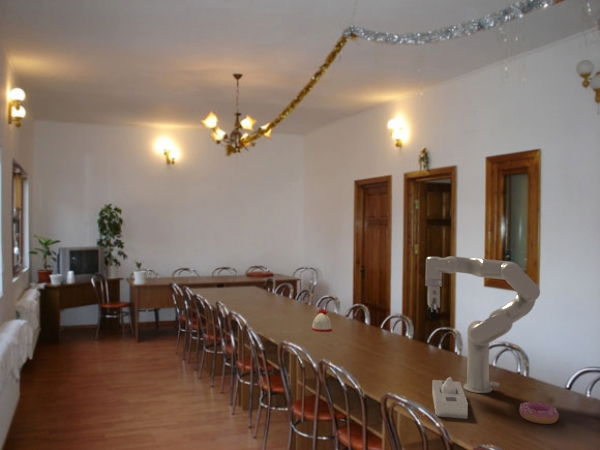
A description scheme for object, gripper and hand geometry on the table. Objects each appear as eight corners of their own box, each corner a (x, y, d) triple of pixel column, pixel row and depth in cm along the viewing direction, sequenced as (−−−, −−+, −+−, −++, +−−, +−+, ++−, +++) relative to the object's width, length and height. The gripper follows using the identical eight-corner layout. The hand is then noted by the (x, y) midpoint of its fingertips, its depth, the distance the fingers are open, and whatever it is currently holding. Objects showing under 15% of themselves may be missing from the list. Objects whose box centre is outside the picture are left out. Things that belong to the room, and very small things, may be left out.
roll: (446, 373, 234) (458, 376, 230) (446, 401, 234) (458, 404, 230) (439, 376, 230) (451, 379, 226) (439, 404, 230) (451, 408, 226)
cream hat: (325, 332, 377) (325, 311, 377) (308, 330, 384) (308, 308, 384) (335, 329, 389) (335, 308, 388) (318, 327, 396) (318, 306, 396)
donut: (547, 412, 223) (547, 400, 223) (565, 425, 209) (565, 412, 209) (513, 412, 223) (513, 400, 223) (528, 425, 208) (529, 412, 208)
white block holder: (459, 395, 243) (460, 381, 243) (467, 418, 214) (467, 403, 214) (432, 393, 246) (432, 379, 246) (436, 416, 216) (436, 400, 216)
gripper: (444, 285, 248) (443, 322, 249) (439, 281, 266) (438, 316, 266) (427, 284, 249) (426, 321, 250) (423, 280, 267) (422, 315, 267)
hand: (432, 318), depth 258 cm, fingers open, 9 cm apart
